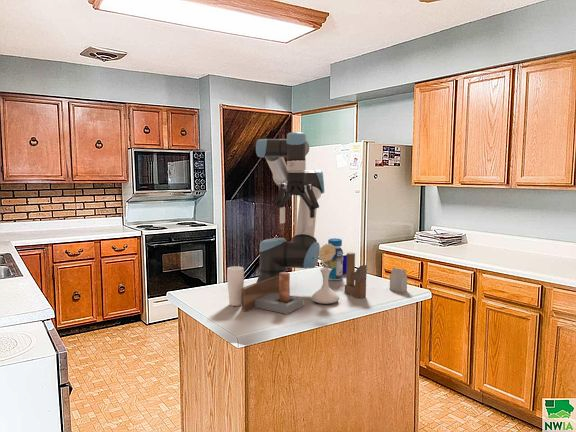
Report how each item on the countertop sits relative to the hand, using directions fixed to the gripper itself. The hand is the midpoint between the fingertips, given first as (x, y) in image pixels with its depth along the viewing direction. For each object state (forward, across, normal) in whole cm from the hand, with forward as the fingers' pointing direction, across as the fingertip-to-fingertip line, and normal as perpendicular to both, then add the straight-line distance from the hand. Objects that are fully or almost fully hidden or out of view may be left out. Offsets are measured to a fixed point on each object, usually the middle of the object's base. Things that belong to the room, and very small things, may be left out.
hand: (296, 224), depth 181 cm
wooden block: (+33, +15, +23) cm, 43 cm away
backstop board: (+32, -10, -10) cm, 35 cm away
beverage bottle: (+33, -6, +44) cm, 55 cm away
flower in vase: (+32, +11, +6) cm, 35 cm away
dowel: (+32, +1, -10) cm, 34 cm away
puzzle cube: (+34, -13, +57) cm, 67 cm away
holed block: (+32, -1, -10) cm, 34 cm away
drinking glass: (+32, -17, -18) cm, 41 cm away
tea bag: (+33, +28, +42) cm, 60 cm away
